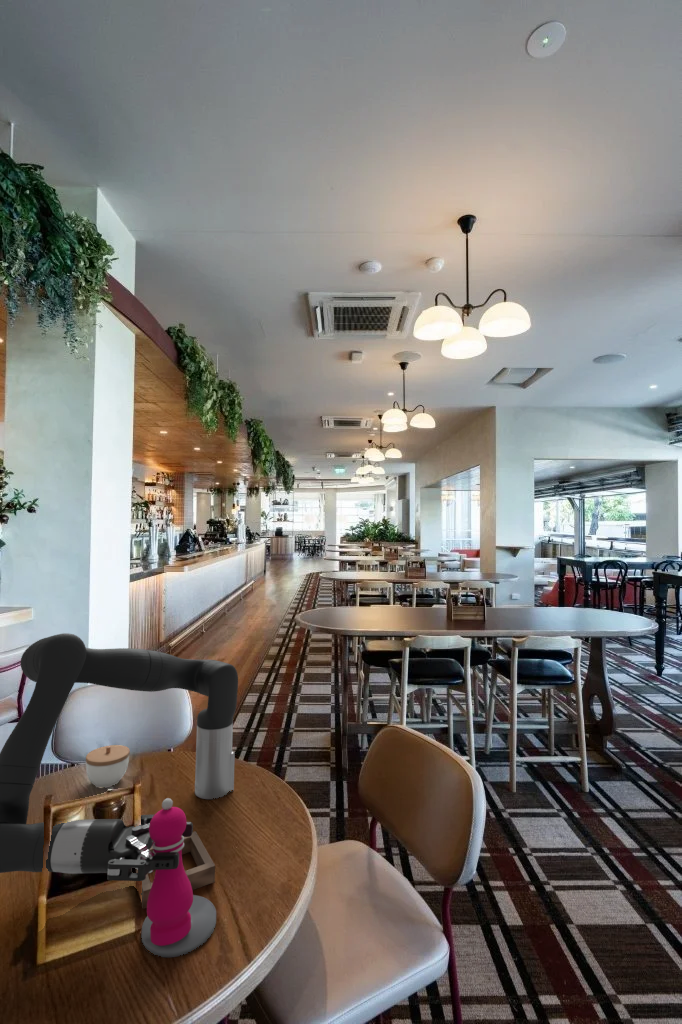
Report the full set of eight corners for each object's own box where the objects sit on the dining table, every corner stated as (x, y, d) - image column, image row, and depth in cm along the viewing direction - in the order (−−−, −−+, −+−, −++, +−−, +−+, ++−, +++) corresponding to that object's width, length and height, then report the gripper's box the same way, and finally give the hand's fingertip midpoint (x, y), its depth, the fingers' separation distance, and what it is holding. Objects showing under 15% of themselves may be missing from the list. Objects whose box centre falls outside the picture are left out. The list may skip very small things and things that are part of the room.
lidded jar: (135, 781, 130) (137, 746, 131) (94, 797, 122) (96, 759, 123) (117, 769, 137) (119, 735, 138) (77, 783, 129) (79, 747, 130)
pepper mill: (203, 921, 80) (197, 790, 84) (174, 951, 74) (170, 807, 78) (168, 917, 83) (164, 790, 87) (137, 945, 76) (134, 806, 80)
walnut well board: (195, 845, 103) (195, 831, 103) (214, 881, 92) (215, 865, 92) (130, 866, 96) (130, 851, 96) (142, 908, 85) (143, 891, 85)
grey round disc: (204, 891, 90) (204, 886, 90) (225, 936, 80) (226, 929, 80) (135, 918, 83) (135, 911, 83) (149, 970, 73) (149, 963, 73)
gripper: (68, 849, 75) (174, 847, 75) (108, 800, 89) (197, 799, 90) (66, 899, 74) (172, 897, 75) (106, 842, 88) (195, 841, 89)
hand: (185, 844), depth 82 cm, fingers open, 8 cm apart
